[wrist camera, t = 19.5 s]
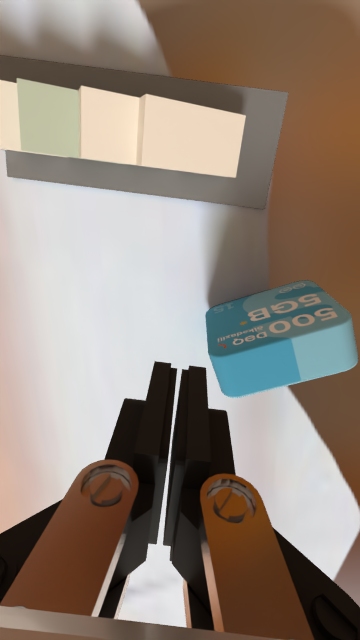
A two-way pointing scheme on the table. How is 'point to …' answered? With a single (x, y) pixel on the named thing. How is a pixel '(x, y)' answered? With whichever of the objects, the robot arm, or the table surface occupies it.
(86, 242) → the table surface
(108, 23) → the table surface
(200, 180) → the domino mat
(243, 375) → the data package
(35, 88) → the domino
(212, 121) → the domino
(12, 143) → the domino
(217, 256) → the table surface
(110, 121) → the domino
